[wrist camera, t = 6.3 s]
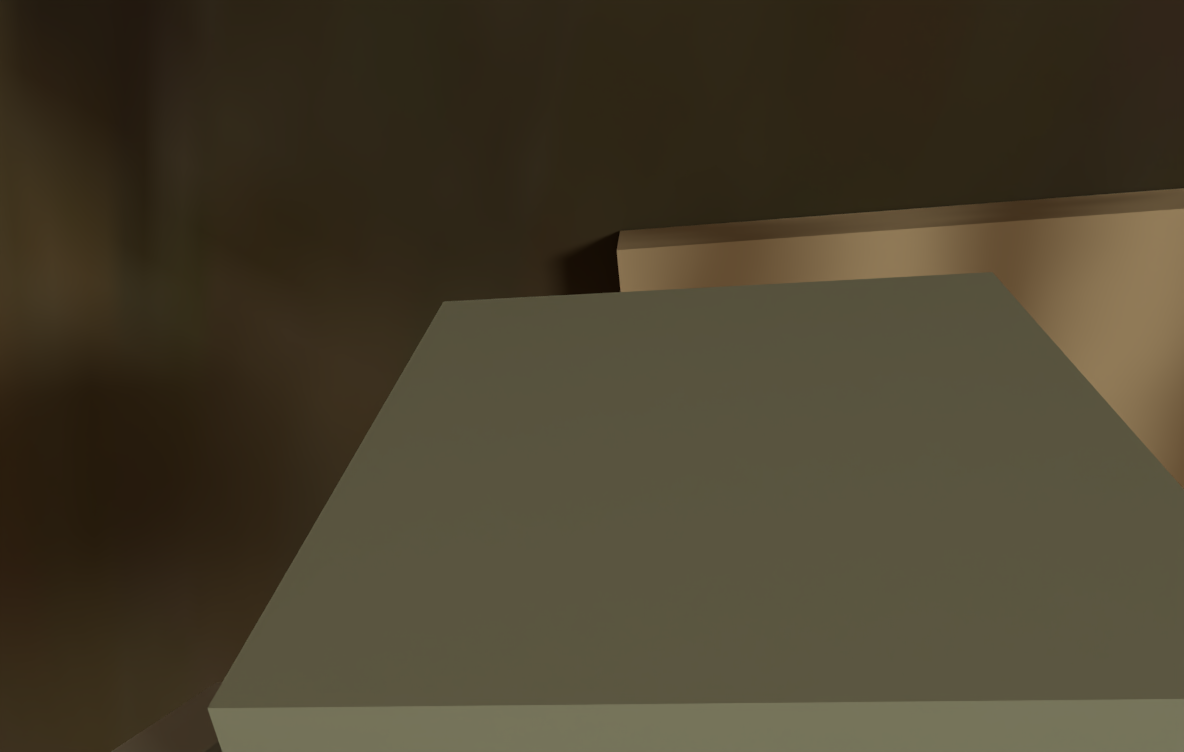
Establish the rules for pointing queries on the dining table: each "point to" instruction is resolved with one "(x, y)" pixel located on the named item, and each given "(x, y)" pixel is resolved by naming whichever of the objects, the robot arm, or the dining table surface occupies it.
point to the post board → (977, 245)
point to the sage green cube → (732, 539)
